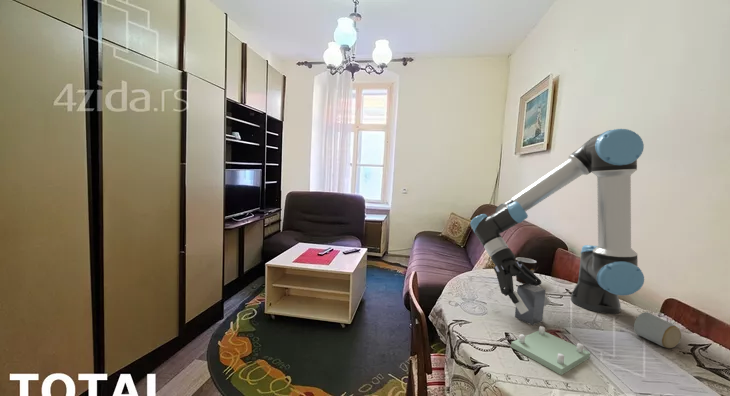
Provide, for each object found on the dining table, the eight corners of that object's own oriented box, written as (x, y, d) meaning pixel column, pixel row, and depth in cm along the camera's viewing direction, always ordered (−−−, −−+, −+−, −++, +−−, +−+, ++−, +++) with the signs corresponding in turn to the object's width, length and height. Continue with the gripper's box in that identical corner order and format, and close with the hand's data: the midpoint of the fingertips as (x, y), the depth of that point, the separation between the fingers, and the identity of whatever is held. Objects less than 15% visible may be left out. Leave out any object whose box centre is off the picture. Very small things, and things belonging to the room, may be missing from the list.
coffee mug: (517, 283, 135) (519, 261, 135) (511, 277, 144) (513, 256, 143) (544, 286, 134) (547, 264, 133) (537, 279, 142) (539, 259, 141)
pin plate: (540, 334, 91) (541, 323, 91) (589, 357, 80) (591, 345, 80) (510, 347, 83) (512, 335, 83) (561, 375, 72) (562, 361, 72)
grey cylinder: (663, 351, 85) (667, 325, 84) (631, 335, 93) (634, 312, 92) (689, 348, 88) (693, 323, 87) (656, 333, 95) (659, 310, 95)
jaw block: (524, 313, 105) (527, 283, 104) (542, 321, 100) (545, 289, 99) (514, 317, 102) (517, 285, 101) (532, 325, 97) (535, 292, 96)
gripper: (512, 254, 119) (547, 305, 107) (470, 261, 106) (505, 320, 94) (526, 244, 114) (565, 297, 102) (484, 250, 101) (523, 311, 89)
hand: (536, 308), depth 98 cm, fingers open, 13 cm apart
